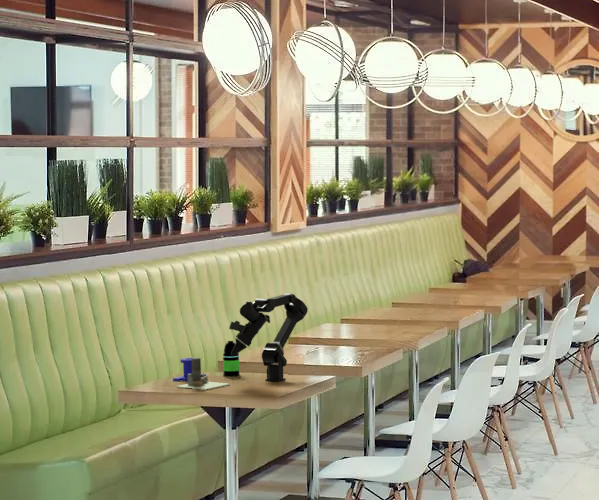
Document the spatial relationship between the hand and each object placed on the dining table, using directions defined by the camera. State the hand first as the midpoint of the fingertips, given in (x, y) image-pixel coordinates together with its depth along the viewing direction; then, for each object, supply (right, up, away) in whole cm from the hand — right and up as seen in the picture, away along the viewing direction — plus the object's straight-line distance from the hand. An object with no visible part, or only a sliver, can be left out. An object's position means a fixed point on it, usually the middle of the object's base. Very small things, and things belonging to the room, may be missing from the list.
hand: (231, 355), depth 504 cm
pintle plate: (-11, -13, +1) cm, 17 cm away
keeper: (-15, -13, +2) cm, 19 cm away
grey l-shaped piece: (-13, -12, +2) cm, 18 cm away
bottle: (-1, -11, +29) cm, 31 cm away
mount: (-19, -12, +23) cm, 32 cm away
